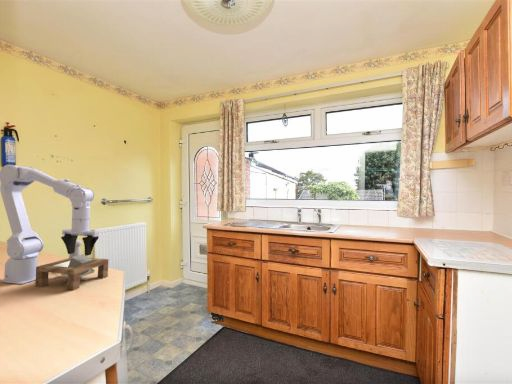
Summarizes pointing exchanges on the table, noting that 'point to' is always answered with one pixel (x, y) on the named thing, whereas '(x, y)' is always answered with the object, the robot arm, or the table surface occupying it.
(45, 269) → the trapdoor frame
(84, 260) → the pale grey cube
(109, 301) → the table surface
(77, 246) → the salt shaker
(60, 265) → the trapdoor
